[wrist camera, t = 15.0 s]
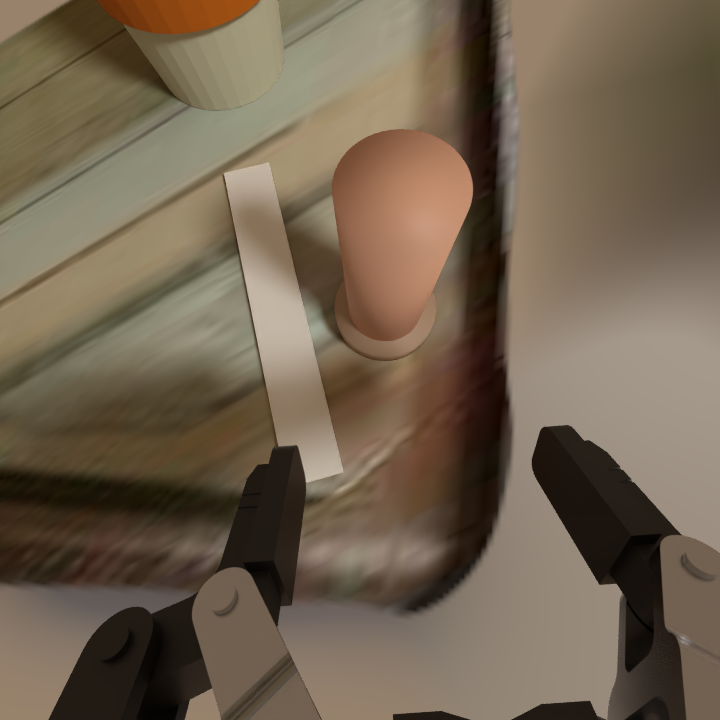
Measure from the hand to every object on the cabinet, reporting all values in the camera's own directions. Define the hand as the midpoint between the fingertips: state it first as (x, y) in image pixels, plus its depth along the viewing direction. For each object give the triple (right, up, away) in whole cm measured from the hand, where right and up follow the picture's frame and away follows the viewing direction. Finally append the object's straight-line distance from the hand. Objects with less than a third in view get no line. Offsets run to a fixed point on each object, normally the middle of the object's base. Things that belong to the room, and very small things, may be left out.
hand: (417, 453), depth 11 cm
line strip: (-7, +6, +8) cm, 12 cm away
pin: (-1, +6, +8) cm, 10 cm away
